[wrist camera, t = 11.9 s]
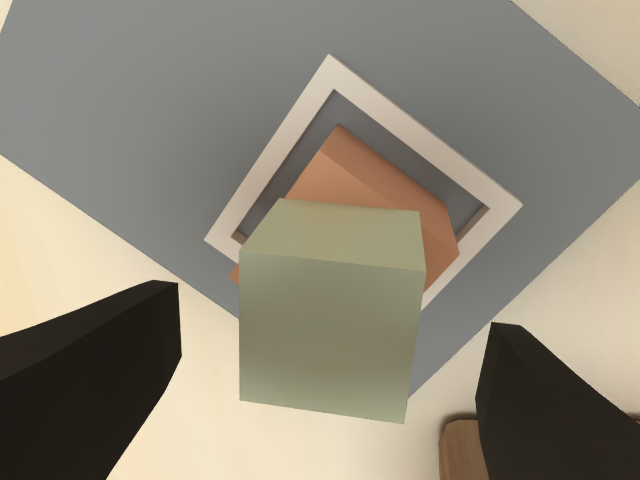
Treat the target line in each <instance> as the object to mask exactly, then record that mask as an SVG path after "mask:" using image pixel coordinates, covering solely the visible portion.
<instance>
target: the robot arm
mask: <svg viewBox="0 0 640 480" xmlns="http://www.w3.org/2000/svg"><path fill="white" fill-rule="evenodd" d="M181 357H182V351H181V332H180V313H179V294H178V283H175V282H167V281H158V280H151V281H148V282H144V283H141V284H139V285H136V286H133V287H131V288H128V289H126V290H123V291H121V292H118V293H116V294H114V295H111V296H109V297H106V298H104V299H102V300H99V301H97V302H94V303H92V304H90V305H87V306H85V307H82V308H80V309H77V310H75V311H72V312H70V313H67V314H64V315H62V316H59V317H56V318H54V319H51V320H48V321H46V322H43V323H40V324H38V325H35V326H32V327H30V328H27V329H24V330H21V331H18V332H15V333H11V334H8V335H5V336H2V337H0V480H106V479H107V477H108V475H109V474H110V472H111V471H112V469H113V468H114V466H115V465H116V463H117V462H118V460H119V459H120V457H121V456H122V454H123V453H124V451H125V450H126V449H127V447H128V446H129V444H130V443H131V441H132V440H133V438H134V437H135V435H136V434H137V432H138V431H139V429H140V428H141V426H142V425H143V424H144V422H145V421H146V419H147V418H148V416H149V415H150V413H151V412H152V410H153V409H154V407H155V406H156V404H157V403H158V401H159V400H160V398H161V396H162V395H163V393H164V392H165V390H166V388H167V386H168V384H169V382H170V380H171V378H172V376H173V374H174V372H175V370H176V368H177V365H178V363H179V361H180V359H181ZM475 401H476V412H477V422H478V430H479V439H480V443H481V447H482V452H483V456H484V460H485V464H486V468H487V472H488V476H489V480H640V424H639V423H638V422H636V421H635V420H634V419H632V418H631V417H629V416H628V415H627V414H625V413H624V412H623V411H621V410H620V409H619V408H618V407H616V406H615V405H614V404H612V403H611V402H610V401H609V400H607V399H606V398H605V397H603V396H602V395H601V394H600V393H598V392H597V391H596V390H595V389H593V388H592V387H591V386H590V385H589V384H587V383H586V382H585V381H584V380H583V379H581V378H580V377H579V376H578V375H577V374H576V373H574V372H573V371H572V370H571V369H570V368H569V367H568V366H566V365H565V364H564V363H563V362H562V361H561V360H560V359H559V358H557V357H556V356H555V355H554V354H553V353H552V352H551V351H550V350H549V349H547V348H546V347H545V346H544V345H543V344H542V343H541V342H540V341H539V340H537V339H536V338H535V337H534V336H533V335H532V334H531V333H529V332H528V331H527V330H526V329H524V328H523V327H522V326H520V325H513V324H505V323H497V322H491V327H490V331H489V336H488V341H487V345H486V350H485V355H484V359H483V364H482V368H481V373H480V378H479V382H478V387H477V391H476V396H475Z"/></svg>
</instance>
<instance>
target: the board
mask: <svg viewBox="0 0 640 480" xmlns="http://www.w3.org/2000/svg"><path fill="white" fill-rule="evenodd" d="M338 123H339V124H340V125H341V126H343V127H344V128H345V129H347V130H348V131H349V132H351V133H352V134H353V135H355V136H356V137H357V138H359V139H360V140H361V141H363V142H364V143H365V144H367V145H368V146H369V147H371V148H372V149H373V150H375V151H376V152H377V153H379V154H380V155H381V156H383V157H384V158H385V159H387V160H388V161H389V162H391V163H392V164H394V165H395V166H396V167H398V168H399V169H400V170H402V171H403V172H404V173H406V174H407V175H408V176H410V177H411V178H412V179H414V180H415V181H416V182H418V183H419V184H420V185H422V186H423V187H424V188H426V189H427V190H428V191H430V192H431V193H432V194H434V195H435V196H436V197H438V198H439V199H440V200H442V201H443V202H444V203H445V205H446V208H447V211H448V215H449V218H450V222H451V225H452V228H453V232H454V235H455V239H456V242H457V245H458V249H459V252H460V255H459V256H458V257H457V258H456V259H455V260H454V262H453V263H452V264H451V265H450V266H449V267H448V268H447V269H446V270H445V271H444V272H443V273H442V274H441V275H440V276H439V278H438V279H437V280H436V281H435V282H434V283H433V284H432V285H431V286H430V287H429V288H428V289H427V290H426V291H425V292H424V294H423V298H422V305H421V311H420V318H419V325H418V332H417V338H416V345H415V352H414V359H413V365H412V372H411V379H410V386H409V392H408V398H409V397H410V396H411V395H412V394H413V393H414V392H415V391H417V390H418V389H419V388H420V387H421V386H422V385H423V384H424V383H425V382H426V381H427V380H428V379H429V378H430V377H431V376H432V375H433V374H434V373H435V372H437V371H438V370H439V369H440V368H441V367H442V366H443V365H444V364H445V363H446V362H447V361H448V360H449V359H450V358H451V357H452V356H453V355H454V354H456V353H457V352H458V351H459V350H460V349H461V348H462V347H463V346H464V345H465V344H466V343H467V342H468V341H469V340H470V339H471V338H472V337H473V336H474V335H476V334H477V333H478V332H479V331H480V330H481V329H482V328H483V327H484V326H485V325H486V324H487V323H488V322H489V321H490V320H491V319H492V318H493V317H495V316H496V315H497V314H498V313H499V312H500V311H501V310H502V309H503V308H504V307H505V306H506V305H507V304H508V303H509V302H510V301H511V300H512V299H513V298H515V297H516V296H517V295H518V294H519V293H520V292H521V291H522V290H523V289H524V288H525V287H526V286H527V285H528V284H529V283H530V282H531V281H532V280H534V279H535V278H536V277H537V276H538V275H539V274H540V273H541V272H542V271H543V270H544V269H545V268H546V267H547V266H548V265H549V264H550V263H551V262H552V261H554V260H555V259H556V258H557V257H558V256H559V255H560V254H561V253H562V252H563V251H564V250H565V249H566V248H567V247H568V246H569V245H570V244H571V243H572V242H574V241H575V240H576V239H577V238H578V237H579V236H580V235H581V234H582V233H583V232H584V231H585V230H586V229H587V228H588V227H589V226H590V225H591V224H593V223H594V222H595V221H596V220H597V219H598V218H599V217H600V216H601V215H602V214H603V213H604V212H605V211H606V210H607V209H608V208H609V207H610V206H611V205H613V204H614V203H615V202H616V201H617V200H618V199H619V198H620V197H621V196H622V195H623V194H624V193H625V192H626V191H627V190H628V189H629V188H630V187H632V186H633V185H634V184H635V183H636V182H637V181H638V180H639V179H640V107H639V106H637V105H636V104H635V103H634V102H633V101H631V100H630V99H629V98H628V97H626V96H625V95H624V94H623V93H622V92H620V91H619V90H618V89H617V88H616V87H614V86H613V85H612V84H611V83H610V82H608V81H607V80H606V79H605V78H603V77H602V76H601V75H600V74H599V73H597V72H596V71H595V70H594V69H593V68H591V67H590V66H589V65H588V64H587V63H585V62H584V61H583V60H582V59H580V58H579V57H578V56H577V55H576V54H574V53H573V52H572V51H571V50H570V49H568V48H567V47H566V46H565V45H564V44H562V43H561V42H560V41H559V40H558V39H556V38H555V37H554V36H553V35H551V34H550V33H549V32H548V31H547V30H545V29H544V28H543V27H542V26H541V25H539V24H538V23H537V22H536V21H535V20H533V19H532V18H531V17H530V16H528V15H527V14H526V13H525V12H524V11H522V10H521V9H520V8H519V7H518V6H516V5H515V4H514V3H513V2H512V1H510V0H13V1H12V4H11V7H10V9H9V12H8V14H7V17H6V20H5V22H4V25H3V28H2V30H1V33H0V155H2V156H3V157H5V158H6V159H8V160H9V161H11V162H12V163H13V164H15V165H16V166H18V167H19V168H21V169H22V170H24V171H25V172H27V173H28V174H29V175H31V176H32V177H34V178H35V179H37V180H38V181H40V182H41V183H42V184H44V185H45V186H47V187H48V188H50V189H51V190H53V191H54V192H56V193H57V194H58V195H60V196H61V197H63V198H64V199H66V200H67V201H69V202H70V203H71V204H73V205H74V206H76V207H77V208H79V209H80V210H82V211H83V212H84V213H86V214H87V215H89V216H90V217H92V218H93V219H95V220H96V221H98V222H99V223H100V224H102V225H103V226H105V227H106V228H108V229H109V230H111V231H112V232H113V233H115V234H116V235H118V236H119V237H121V238H122V239H124V240H125V241H127V242H128V243H129V244H131V245H132V246H134V247H135V248H137V249H138V250H140V251H141V252H142V253H144V254H145V255H147V256H148V257H150V258H151V259H153V260H154V261H156V262H157V263H158V264H160V265H161V266H163V267H164V268H166V269H167V270H169V271H170V272H171V273H173V274H174V275H176V276H177V277H179V278H180V279H182V280H183V281H185V282H186V283H187V284H189V285H190V286H192V287H193V288H195V289H196V290H198V291H199V292H200V293H202V294H203V295H205V296H206V297H208V298H209V299H211V300H212V301H213V302H215V303H216V304H218V305H219V306H221V307H222V308H224V309H225V310H227V311H228V312H229V313H231V314H232V315H234V316H235V317H237V318H238V319H239V285H238V284H236V283H235V282H234V281H232V280H231V279H229V278H228V277H229V275H230V274H231V272H232V271H233V270H234V268H235V267H236V265H237V264H238V263H239V250H240V249H241V247H242V246H243V245H244V243H245V242H246V241H247V239H248V238H249V237H250V235H251V234H252V233H253V232H254V230H255V229H256V228H257V226H258V225H259V224H260V222H261V221H262V220H263V219H264V217H265V216H266V215H267V213H268V212H269V211H270V209H271V208H272V207H273V205H274V204H275V203H276V202H277V200H278V199H279V198H285V196H286V195H287V194H288V192H289V191H290V189H291V188H292V187H293V185H294V184H295V182H296V181H297V180H298V178H299V177H300V175H301V174H302V173H303V171H304V170H305V168H306V167H307V166H308V164H309V163H310V161H311V160H312V159H313V157H314V156H315V154H316V153H317V152H318V150H319V149H320V147H321V146H322V145H323V143H324V142H325V141H326V139H327V138H328V137H329V135H330V134H331V133H332V131H333V130H334V129H335V127H336V126H337V125H338Z"/></svg>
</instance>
